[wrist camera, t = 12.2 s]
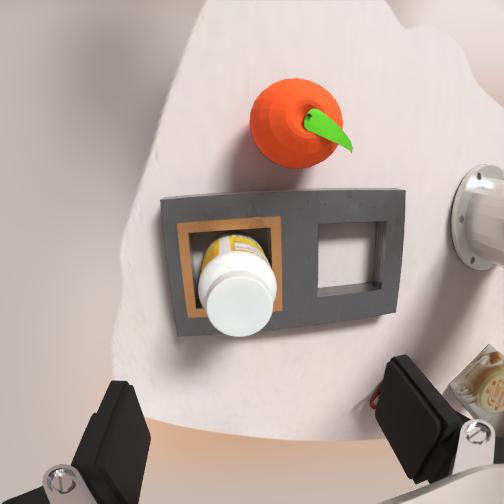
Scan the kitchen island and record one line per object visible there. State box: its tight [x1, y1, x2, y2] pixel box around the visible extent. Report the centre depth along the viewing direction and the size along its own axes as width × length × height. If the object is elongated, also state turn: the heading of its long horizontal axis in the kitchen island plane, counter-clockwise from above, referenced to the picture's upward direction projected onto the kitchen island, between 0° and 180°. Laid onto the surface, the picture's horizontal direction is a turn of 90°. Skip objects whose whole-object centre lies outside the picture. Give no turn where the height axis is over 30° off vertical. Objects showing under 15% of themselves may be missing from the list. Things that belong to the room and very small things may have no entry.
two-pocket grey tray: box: [160, 188, 406, 336], centre depth 27 cm, size 21×12×2 cm, turn 93°
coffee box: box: [449, 344, 504, 438], centre depth 28 cm, size 9×6×16 cm
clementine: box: [250, 78, 353, 169], centre depth 22 cm, size 8×7×7 cm
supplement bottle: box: [198, 232, 277, 337], centre depth 23 cm, size 5×5×10 cm
